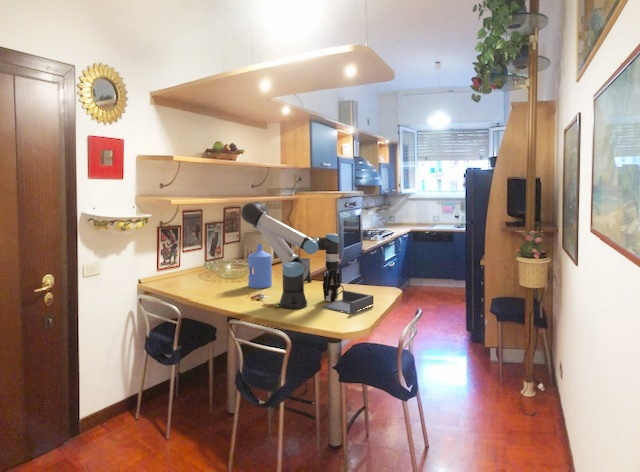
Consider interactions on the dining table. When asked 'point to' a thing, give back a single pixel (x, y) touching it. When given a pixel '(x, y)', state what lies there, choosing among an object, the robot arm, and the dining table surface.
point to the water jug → (260, 269)
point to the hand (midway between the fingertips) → (331, 299)
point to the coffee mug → (332, 291)
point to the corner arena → (351, 302)
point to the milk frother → (307, 261)
